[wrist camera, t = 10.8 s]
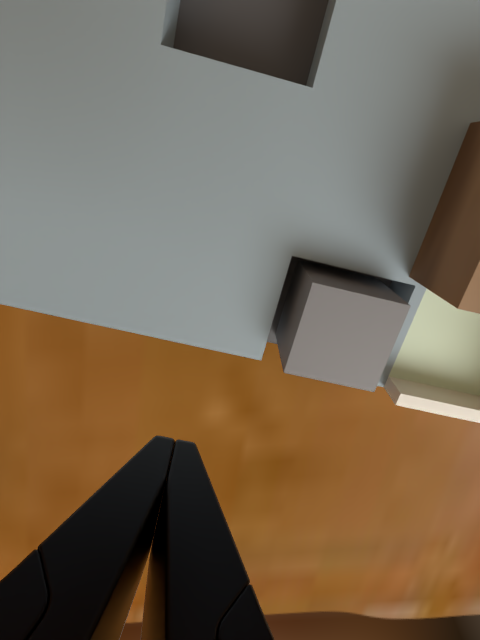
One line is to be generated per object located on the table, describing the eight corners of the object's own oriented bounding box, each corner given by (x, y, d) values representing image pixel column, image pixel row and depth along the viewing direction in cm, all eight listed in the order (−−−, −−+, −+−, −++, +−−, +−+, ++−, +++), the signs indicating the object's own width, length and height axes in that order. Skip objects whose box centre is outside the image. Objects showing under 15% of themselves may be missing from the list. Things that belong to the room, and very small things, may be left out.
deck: (22, 285, 19) (-56, 329, 14) (40, -146, 14) (-78, -330, 9) (471, 385, 22) (544, 454, 16) (648, 48, 16) (844, -8, 11)
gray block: (275, 334, 20) (283, 372, 16) (298, 259, 19) (312, 282, 15) (349, 350, 20) (374, 391, 17) (377, 278, 19) (410, 305, 15)
